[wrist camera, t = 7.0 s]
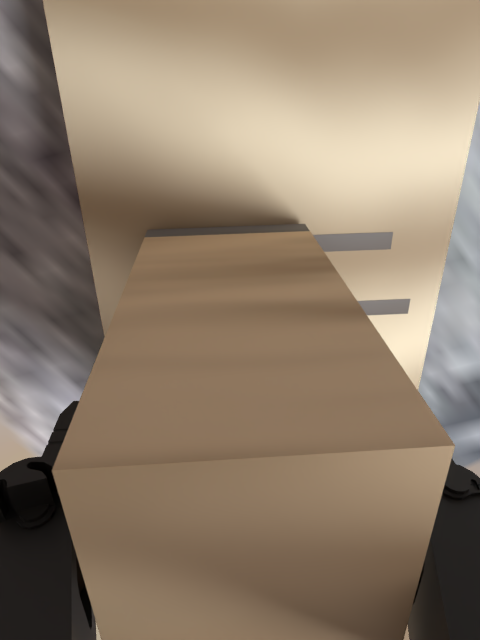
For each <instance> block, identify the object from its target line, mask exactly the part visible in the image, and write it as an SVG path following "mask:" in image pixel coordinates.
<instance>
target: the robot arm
mask: <svg viewBox="0 0 480 640" xmlns="http://www.w3.org/2000/svg"><path fill="white" fill-rule="evenodd" d="M78 403H79V401H73V402H72V403H71V404H70V405H69V406H68V407H67V408H66V409H65V410H64V411H63V412H62V413H61V414H60V416H59V418H58V420H57V423H56V425H55V427H54V432H52V434H51V437H50V439H49V441H48V445H47V446H46V448H45V451H44V453H43V455H42V457H33V458H27V459H24V460H21V461H18V462H16V463H13V464H12V465H10V466H8V467H7V468H5V469H4V470H2V471H1V472H0V640H96V621H95V616H94V613H93V609H92V606H91V602H90V599H89V596H88V592H87V589H86V585H85V582H84V579H83V575H82V572H81V568H80V565H79V562H78V558H77V555H76V551H75V548H74V544H73V541H72V538H71V534H70V531H69V527H68V524H67V521H66V517H65V514H64V510H63V507H62V504H61V500H60V497H59V493H58V490H57V487H56V483H55V480H54V476H53V473H52V469H53V466H54V464H55V461H56V459H57V456H58V454H59V451H60V449H61V446H62V444H63V441H64V439H65V436H66V433H67V431H68V428H69V426H70V423H71V421H72V418H73V416H74V413H75V411H76V408H77V406H78ZM408 631H409V639H410V640H480V478H479V477H478V476H477V475H475V474H474V473H473V472H472V471H470V470H468V469H466V468H464V467H462V466H460V465H456V464H455V463H454V461H453V459H451V462H450V466H449V470H448V474H447V477H446V481H445V485H444V489H443V492H442V496H441V500H440V504H439V507H438V511H437V515H436V519H435V522H434V526H433V530H432V534H431V537H430V541H429V545H428V549H427V552H426V556H425V560H424V564H423V567H422V571H421V575H420V579H419V582H418V586H417V590H416V594H415V597H414V601H413V605H412V609H411V612H410V616H409V620H408Z"/></svg>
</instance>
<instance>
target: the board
mask: <svg viewBox="0 0 480 640" xmlns="http://www.w3.org/2000/svg"><path fill="white" fill-rule="evenodd" d="M43 5H44V10H45V16H46V21H47V27H48V32H49V37H50V43H51V48H52V54H53V59H54V65H55V70H56V76H57V81H58V87H59V92H60V98H61V103H62V108H63V114H64V119H65V125H66V130H67V136H68V141H69V147H70V152H71V158H72V163H73V168H74V174H75V179H76V185H77V190H78V196H79V201H80V207H81V212H82V218H83V223H84V228H85V234H86V239H87V245H88V250H89V256H90V261H91V267H92V272H93V278H94V283H95V289H96V294H97V299H98V305H99V310H100V316H101V321H102V327H103V332H104V338H105V335H106V333H107V330H108V328H109V325H110V323H111V320H112V318H113V315H114V313H115V310H116V308H117V305H118V303H119V300H120V298H121V295H122V293H123V290H124V288H125V285H126V283H127V280H128V277H129V275H130V272H131V270H132V267H133V265H134V262H135V260H136V257H137V255H138V252H139V250H140V247H141V245H142V242H143V240H144V237H145V235H146V232H147V230H151V229H177V228H204V227H230V226H256V225H282V224H306V226H307V227H308V229H309V230H310V232H311V233H312V235H313V236H314V238H315V239H316V241H317V242H318V244H319V245H320V247H321V248H322V250H323V251H324V253H325V254H326V256H327V257H328V258H329V260H330V261H331V263H332V264H333V266H334V267H335V269H336V270H337V272H338V273H339V275H340V276H341V278H342V279H343V281H344V282H345V284H346V285H347V287H348V288H349V290H350V291H351V292H352V294H353V295H354V297H355V298H356V300H357V301H358V303H359V304H360V306H361V307H362V309H363V310H364V312H365V313H366V315H367V316H368V318H369V319H370V321H371V322H372V324H373V325H374V327H375V328H376V329H377V331H378V332H379V334H380V335H381V337H382V338H383V340H384V341H385V343H386V344H387V346H388V347H389V349H390V350H391V352H392V353H393V355H394V356H395V358H396V359H397V361H398V362H399V364H400V365H401V366H402V368H403V369H404V371H405V372H406V374H407V375H408V377H409V378H410V380H411V381H412V383H413V384H414V386H415V387H416V389H417V390H418V388H419V383H420V379H421V374H422V369H423V365H424V360H425V355H426V350H427V346H428V341H429V336H430V332H431V327H432V322H433V317H434V313H435V308H436V303H437V299H438V294H439V289H440V284H441V280H442V275H443V270H444V266H445V261H446V256H447V251H448V247H449V242H450V237H451V232H452V228H453V223H454V218H455V214H456V209H457V204H458V199H459V195H460V190H461V185H462V181H463V176H464V171H465V166H466V162H467V157H468V152H469V148H470V143H471V138H472V133H473V129H474V124H475V119H476V115H477V110H478V105H479V100H480V0H43Z"/></svg>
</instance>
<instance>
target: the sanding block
mask: <svg viewBox="0 0 480 640" xmlns="http://www.w3.org/2000/svg"><path fill="white" fill-rule="evenodd" d="M454 447H455V445H454V443H453V442H452V440H451V439H450V437H449V436H448V435H447V433H446V432H445V430H444V429H443V427H442V426H441V424H440V423H439V421H438V420H437V418H436V417H435V415H434V414H433V412H432V411H431V409H430V408H429V406H428V405H427V403H426V402H425V400H424V399H423V398H422V396H421V395H420V393H419V392H418V390H417V389H416V387H415V386H414V384H413V383H412V381H411V380H410V378H409V377H408V375H407V374H406V372H405V371H404V369H403V368H402V366H401V365H400V364H399V362H398V361H397V359H396V358H395V356H394V355H393V353H392V352H391V350H390V349H389V347H388V346H387V344H386V343H385V341H384V340H383V338H382V337H381V335H380V334H379V332H378V331H377V329H376V328H375V327H374V325H373V324H372V322H371V321H370V319H369V318H368V316H367V315H366V313H365V312H364V310H363V309H362V307H361V306H360V304H359V303H358V301H357V300H356V298H355V297H354V295H353V294H352V292H351V291H350V290H349V288H348V287H347V285H346V284H345V282H344V281H343V279H342V278H341V276H340V275H339V273H338V272H337V270H336V269H335V267H334V266H333V264H332V263H331V261H330V260H329V258H328V257H327V256H326V254H325V253H324V251H323V250H322V248H321V247H320V245H319V244H318V242H317V241H316V239H315V238H314V236H313V235H312V233H311V232H310V230H309V229H308V227H307V226H306V224H282V225H256V226H230V227H204V228H177V229H151V230H147V232H146V235H145V237H144V240H143V242H142V245H141V247H140V250H139V252H138V255H137V257H136V260H135V262H134V265H133V267H132V270H131V272H130V275H129V277H128V280H127V283H126V285H125V288H124V290H123V293H122V295H121V298H120V300H119V303H118V305H117V308H116V310H115V313H114V315H113V318H112V320H111V323H110V325H109V328H108V330H107V333H106V335H105V338H104V340H103V343H102V345H101V348H100V350H99V353H98V355H97V358H96V361H95V363H94V366H93V368H92V371H91V373H90V376H89V378H88V381H87V383H86V386H85V388H84V391H83V393H82V396H81V398H80V401H79V403H78V406H77V408H76V411H75V413H74V416H73V418H72V421H71V423H70V426H69V428H68V431H67V433H66V436H65V439H64V441H63V444H62V446H61V449H60V451H59V454H58V456H57V459H56V461H55V464H54V466H53V469H52V473H53V476H54V480H55V483H56V487H57V490H58V493H59V497H60V500H61V504H62V507H63V510H64V514H65V517H66V521H67V524H68V527H69V531H70V534H71V538H72V541H73V544H74V548H75V551H76V555H77V558H78V562H79V565H80V568H81V572H82V575H83V579H84V582H85V585H86V589H87V592H88V596H89V599H90V602H91V606H92V609H93V613H94V616H95V619H96V623H97V626H98V629H99V633H100V636H101V640H403V639H404V635H405V631H406V627H407V624H408V620H409V616H410V612H411V609H412V605H413V601H414V597H415V594H416V590H417V586H418V582H419V579H420V575H421V571H422V567H423V564H424V560H425V556H426V552H427V549H428V545H429V541H430V537H431V534H432V530H433V526H434V522H435V519H436V515H437V511H438V507H439V504H440V500H441V496H442V492H443V489H444V485H445V481H446V477H447V474H448V470H449V466H450V462H451V459H452V455H453V451H454Z"/></svg>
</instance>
